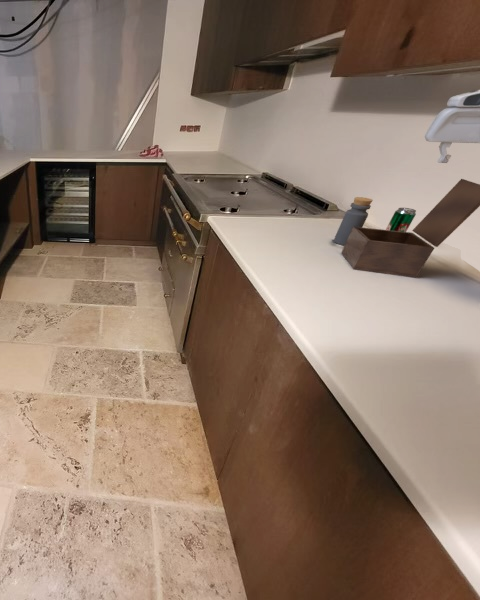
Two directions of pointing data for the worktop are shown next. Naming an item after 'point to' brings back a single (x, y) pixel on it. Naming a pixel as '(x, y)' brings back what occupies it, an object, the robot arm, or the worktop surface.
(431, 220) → the lid
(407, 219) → the soda can
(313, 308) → the worktop surface
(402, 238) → the brown wooden box
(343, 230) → the bottle
